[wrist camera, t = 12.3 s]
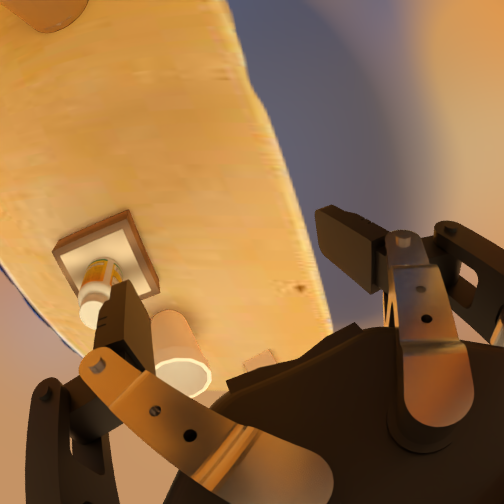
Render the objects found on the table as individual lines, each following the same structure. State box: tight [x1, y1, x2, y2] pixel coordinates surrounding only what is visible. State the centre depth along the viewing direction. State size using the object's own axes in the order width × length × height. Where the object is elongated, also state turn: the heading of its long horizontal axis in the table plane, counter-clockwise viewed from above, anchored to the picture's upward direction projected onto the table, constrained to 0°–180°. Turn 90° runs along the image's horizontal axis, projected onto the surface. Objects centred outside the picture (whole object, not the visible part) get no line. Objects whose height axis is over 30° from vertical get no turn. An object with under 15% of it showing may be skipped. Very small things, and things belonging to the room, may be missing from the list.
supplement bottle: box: [78, 258, 123, 330], centre depth 32 cm, size 5×5×10 cm
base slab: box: [52, 210, 160, 300], centre depth 38 cm, size 12×12×4 cm
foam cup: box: [151, 310, 211, 398], centre depth 42 cm, size 10×9×13 cm
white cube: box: [243, 349, 277, 372], centre depth 57 cm, size 6×6×6 cm
